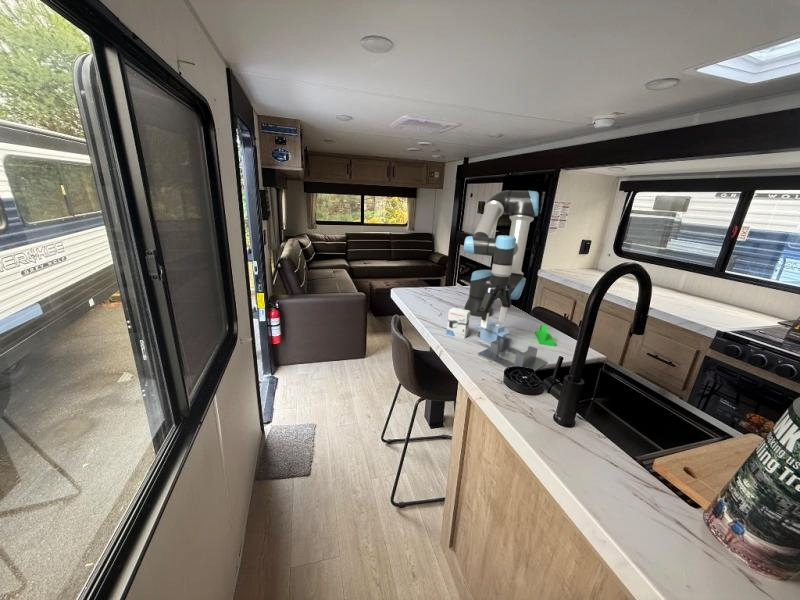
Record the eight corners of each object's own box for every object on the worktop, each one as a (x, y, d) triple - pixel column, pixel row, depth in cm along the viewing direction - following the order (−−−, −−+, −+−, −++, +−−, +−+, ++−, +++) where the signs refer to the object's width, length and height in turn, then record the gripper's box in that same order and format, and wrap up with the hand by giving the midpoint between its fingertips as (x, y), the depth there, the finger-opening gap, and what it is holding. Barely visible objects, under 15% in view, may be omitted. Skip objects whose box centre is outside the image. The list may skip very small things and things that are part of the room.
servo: (481, 335, 138) (483, 317, 136) (507, 345, 129) (510, 326, 126) (474, 337, 135) (477, 319, 133) (500, 348, 126) (504, 329, 123)
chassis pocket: (500, 344, 130) (502, 332, 128) (547, 363, 115) (550, 349, 114) (477, 354, 120) (479, 341, 118) (526, 376, 105) (528, 361, 104)
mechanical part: (554, 346, 131) (558, 329, 129) (539, 344, 132) (542, 327, 130) (548, 336, 142) (551, 319, 140) (534, 334, 143) (537, 318, 141)
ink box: (445, 334, 137) (448, 309, 133) (449, 331, 141) (452, 307, 137) (464, 339, 133) (467, 313, 130) (467, 335, 137) (470, 310, 134)
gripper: (508, 270, 134) (501, 316, 140) (474, 275, 118) (467, 327, 124) (524, 274, 129) (516, 321, 135) (491, 279, 113) (483, 333, 119)
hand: (493, 324), depth 129 cm, fingers open, 13 cm apart
